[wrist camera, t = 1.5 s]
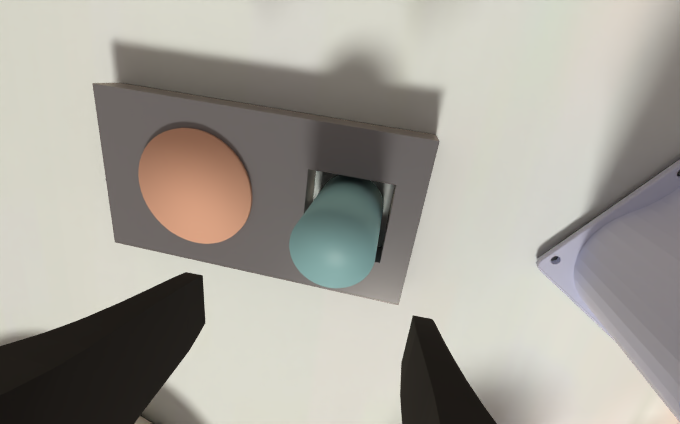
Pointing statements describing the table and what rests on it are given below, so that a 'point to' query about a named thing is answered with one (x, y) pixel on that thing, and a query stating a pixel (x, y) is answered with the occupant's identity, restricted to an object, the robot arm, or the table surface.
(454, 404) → the robot arm
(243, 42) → the table surface
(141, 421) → the bowl
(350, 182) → the plug
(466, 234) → the table surface
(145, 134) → the board with square hole
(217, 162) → the orange disc
